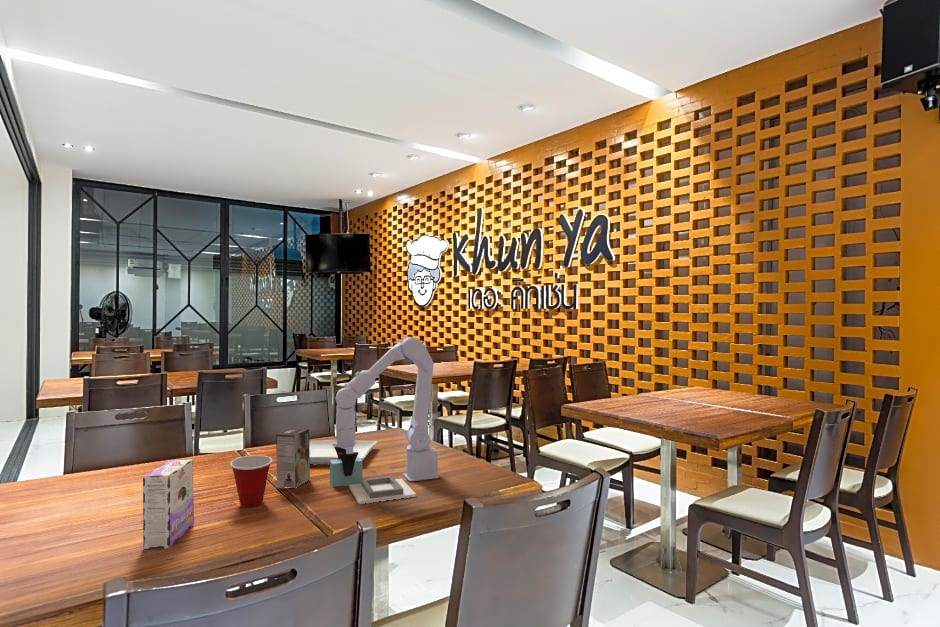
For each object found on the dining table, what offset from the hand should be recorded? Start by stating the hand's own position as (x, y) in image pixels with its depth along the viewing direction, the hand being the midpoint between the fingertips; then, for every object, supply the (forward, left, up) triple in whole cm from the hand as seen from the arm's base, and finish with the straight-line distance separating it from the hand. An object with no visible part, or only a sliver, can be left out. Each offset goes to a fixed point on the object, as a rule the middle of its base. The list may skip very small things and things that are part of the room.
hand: (345, 472), depth 172 cm
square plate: (-1, -33, -4) cm, 33 cm away
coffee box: (+15, -5, -4) cm, 16 cm away
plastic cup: (+27, +9, -3) cm, 29 cm away
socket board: (-8, +13, -3) cm, 16 cm away
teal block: (0, 0, -3) cm, 3 cm away
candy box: (+45, +26, -4) cm, 52 cm away
